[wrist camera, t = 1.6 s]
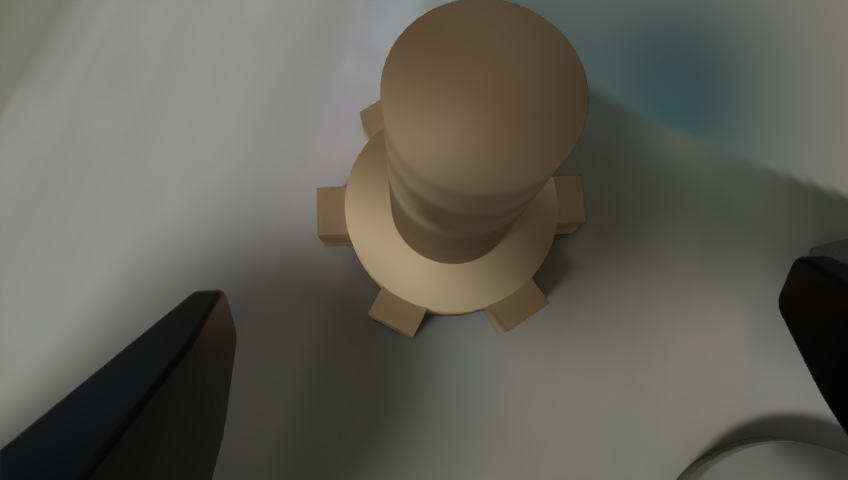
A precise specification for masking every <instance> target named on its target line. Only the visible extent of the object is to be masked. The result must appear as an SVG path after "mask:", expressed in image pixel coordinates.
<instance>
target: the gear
mask: <svg viewBox="0 0 848 480" xmlns="http://www.w3.org/2000/svg"><path fill="white" fill-rule="evenodd" d="M380 97H381V100H379V101H378V102H376V103H374V104H373V105H371V106H369V107H368V108H366V109H364V110H363V111H361V112H360V115H361V121H362V126H363V132H364V134H365V135H366V137H367V138H368V140H369V142H368V143H367V144H366V145H365V147H364V148H363V150H362V151H361V153H360V154H359V156H358V157H357V159H356V161H355V164H354V166H353V168H352V170H351V173H350V176H349V180H348V183H347V186H346V187H326V188H317V213H318V236H319V238H320V239H321V240H322V242H323V243H324V245H325V246H341V245H353V247H354V249H355V251H356V254H357V256H358V258H359V260H360V262H361V264H362V266H363V267H364V269H365V271H366V272H367V274H368V275H369V276H370V278H371V279H372V280H373V282H374V283H375V284H376V285H377V286H378V287H379V288H380V291H379V293H378V295H377V297H376V299H375V301H374V303H373V305H372V307H371V309H370V311H369V313H368V314H369V316H370V317H371V318H372V319H374V320H376V321H378V322H380V323H382V324H384V325H386V326H388V327H390V328H392V329H394V330H396V331H398V332H400V333H402V334H404V335H406V336H408V337H410V338H412V339H413V337H414V335H415V333H416V331H417V329H418V327H419V325H420V323H421V321H422V319H423V317H424V315H425V313H427V314H432V315H439V316H458V315H466V314H471V313H474V312H478V311H481V310H484V311H485V313H486V314H487V316H488V317H489V319H490V320H491V322H492V323H493V325H494V326H495V328H496V329H497V331H498V332H499V334H500V333H504V332H507V331H509V330H511V329H512V328H514V327H515V326H517V325H518V324H520V323H521V322H523V321H524V320H526V319H527V318H529V317H530V316H531V315H533V314H534V313H536V312H537V311H539V310H540V309H542V308H543V307H545V306H546V305H548V304H549V302H548V300H547V299H546V298H545V296H544V295H543V293H542V292H541V290H540V289H539V288H538V286H537V285H536V283H535V282H534V280H533V279H532V276H533V275H534V274H535V273H536V271H537V270H538V269H539V267H540V266H541V265H542V263H543V262H544V260H545V258H546V256H547V254H548V252H549V250H550V248H551V245H552V242H553V240H554V236H555V234H569V233H572V232H573V231H575V230H576V229H577V228H579V227H580V226H581V225H582V224H584V223H585V222H586V215H585V206H584V198H583V190H582V182H581V175H574V176H553V177H552V175H553V174H554V173H555V172H556V170H557V169H558V168H559V166H560V165H561V164H562V163H563V161H564V160H565V159H566V157H567V156H568V155H569V154H570V152H571V151H572V150H573V148H574V147H575V145H576V143H577V141H578V140H579V138H580V136H581V133H582V131H583V128H584V125H585V122H586V117H587V113H588V102H589V96H588V85H587V80H586V75H585V72H584V69H583V66H582V63H581V61H580V59H579V57H578V55H577V53H576V51H575V50H574V48H573V47H572V45H571V44H570V42H569V41H568V40H567V39H566V37H565V36H564V35H563V34H562V33H561V32H560V31H559V30H558V29H557V28H556V27H555V26H554V25H553V24H552V23H550V22H549V21H548V20H546V19H545V18H543V17H542V16H540V15H539V14H537V13H535V12H533V11H531V10H529V9H527V8H525V7H522V6H520V5H517V4H514V3H510V2H507V1H503V0H459V1H455V2H451V3H448V4H445V5H442V6H439V7H437V8H435V9H433V10H431V11H429V12H427V13H425V14H424V15H422V16H421V17H419V18H418V19H416V20H415V21H414V22H413V23H412V24H411V25H410V26H408V27H407V28H406V29H405V31H404V32H403V33H402V34H401V35H400V36H399V37H398V39H397V40H396V42H395V44H394V45H393V47H392V48H391V50H390V52H389V55H388V57H387V59H386V62H385V65H384V68H383V72H382V78H381V89H380Z"/></svg>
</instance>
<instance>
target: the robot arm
mask: <svg viewBox="0 0 848 480" xmlns="http://www.w3.org/2000/svg"><path fill="white" fill-rule="evenodd" d="M779 309H780V312H781V315H782V317H783V319H784V321H785V323H786V325H787V327H788V329H789V331H790V333H791V335H792V337H793V339H794V341H795V343H796V345H797V347H798V349H799V351H800V353H801V355H802V357H803V359H804V361H805V363H806V365H807V367H808V369H809V371H810V373H811V375H812V377H813V379H814V381H815V383H816V385H817V387H818V389H819V391H820V393H821V394H822V396H823V398H824V399H825V401H826V403H827V404H828V406H829V408H830V409H831V411H832V413H833V414H834V416H835V417H836V419H837V420H838V422H839V424H840V425H841V427H842V428H843V430H844V432H845V433H846V435H847V436H848V264H846V263H843V262H841V261H838V260H836V259H833V258H831V257H828V256H808V257H801V258H798V259H797V260H796V261H795V262H794V263H793V265H792V267H791V269H790V272H789V274H788V276H787V279H786V281H785V284H784V286H783V288H782V291H781V293H780V296H779ZM235 349H236V331H235V326H234V323H233V319H232V315H231V312H230V308H229V304H228V301H227V298H226V295H225V294H224V292H223V291H221V290H205V291H196V292H194V293H192V294H191V295H190V296H189V297H187V298H186V299H185V300H184V301H182V302H181V303H180V304H179V305H178V306H176V307H175V308H174V309H173V310H171V311H170V312H169V313H168V314H167V315H165V316H164V317H163V318H162V319H160V320H159V321H158V322H157V323H155V324H154V325H153V326H152V327H151V328H149V329H148V330H147V331H146V332H144V333H143V334H142V335H141V336H140V337H138V338H137V339H136V340H135V341H133V342H132V343H131V344H130V345H129V346H127V347H126V348H125V349H124V350H122V351H121V352H120V353H119V354H118V355H116V356H115V357H114V358H113V359H111V360H110V361H109V362H108V363H107V364H105V365H104V366H103V367H102V368H100V369H99V370H98V371H97V372H95V373H94V374H93V375H92V376H91V377H89V378H88V379H87V380H86V381H84V382H83V383H82V384H81V385H80V386H78V387H77V388H76V389H75V390H73V391H72V392H71V393H70V394H69V395H67V396H66V397H65V398H64V399H62V400H61V401H60V402H59V403H58V404H56V405H55V406H54V407H53V408H51V409H50V410H49V411H48V412H47V413H45V414H44V415H43V416H42V417H40V418H39V419H38V420H37V421H35V422H34V423H33V424H32V425H31V426H29V427H28V428H27V429H26V430H24V431H23V432H22V433H21V434H20V435H18V436H17V437H16V438H15V439H13V440H12V441H11V442H10V443H9V444H7V445H6V446H5V447H4V448H2V449H1V450H0V480H212V476H213V472H214V468H215V465H216V461H217V457H218V453H219V450H220V445H221V441H222V437H223V432H224V426H225V420H226V413H227V406H228V399H229V392H230V385H231V377H232V370H233V363H234V356H235Z"/></svg>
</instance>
